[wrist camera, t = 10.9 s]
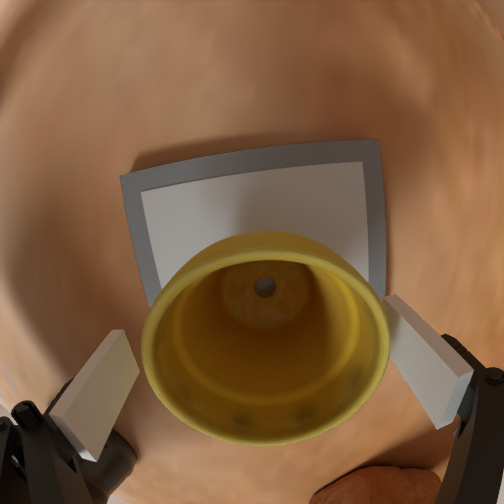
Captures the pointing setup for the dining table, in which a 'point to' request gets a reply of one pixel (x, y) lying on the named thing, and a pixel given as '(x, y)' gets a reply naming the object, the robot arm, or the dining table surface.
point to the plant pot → (265, 340)
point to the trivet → (260, 205)
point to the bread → (382, 487)
